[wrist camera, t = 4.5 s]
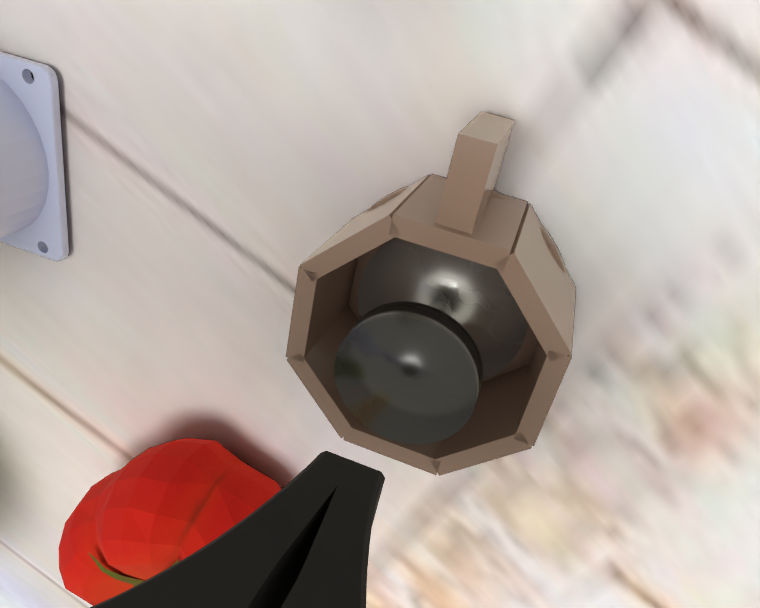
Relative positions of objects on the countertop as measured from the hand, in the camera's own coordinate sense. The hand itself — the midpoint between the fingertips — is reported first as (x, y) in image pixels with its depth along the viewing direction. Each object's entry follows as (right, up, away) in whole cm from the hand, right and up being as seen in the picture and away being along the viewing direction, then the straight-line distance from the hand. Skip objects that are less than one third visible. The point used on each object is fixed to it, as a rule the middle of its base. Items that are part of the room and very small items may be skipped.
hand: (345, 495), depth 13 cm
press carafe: (+3, +5, +8) cm, 10 cm away
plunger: (+3, +4, +8) cm, 9 cm away
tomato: (-7, -6, +18) cm, 20 cm away
